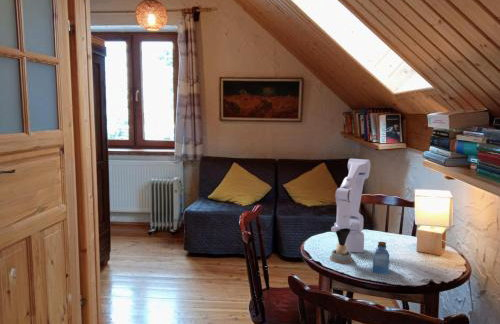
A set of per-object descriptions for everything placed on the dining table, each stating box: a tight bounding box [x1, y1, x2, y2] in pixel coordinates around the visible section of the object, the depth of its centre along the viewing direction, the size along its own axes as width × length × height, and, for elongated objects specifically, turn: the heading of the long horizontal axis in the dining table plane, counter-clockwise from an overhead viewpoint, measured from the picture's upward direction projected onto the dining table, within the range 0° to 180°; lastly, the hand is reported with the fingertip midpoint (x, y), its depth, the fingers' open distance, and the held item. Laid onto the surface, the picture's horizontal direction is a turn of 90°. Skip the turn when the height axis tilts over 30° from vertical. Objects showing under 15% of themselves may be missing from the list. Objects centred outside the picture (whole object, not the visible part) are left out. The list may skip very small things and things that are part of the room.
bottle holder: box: [329, 249, 354, 264], centre depth 182 cm, size 10×10×3 cm
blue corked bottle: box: [372, 241, 390, 275], centre depth 169 cm, size 6×6×12 cm
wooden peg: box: [335, 242, 347, 255], centre depth 182 cm, size 4×4×6 cm
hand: (341, 244), depth 182 cm, fingers closed
